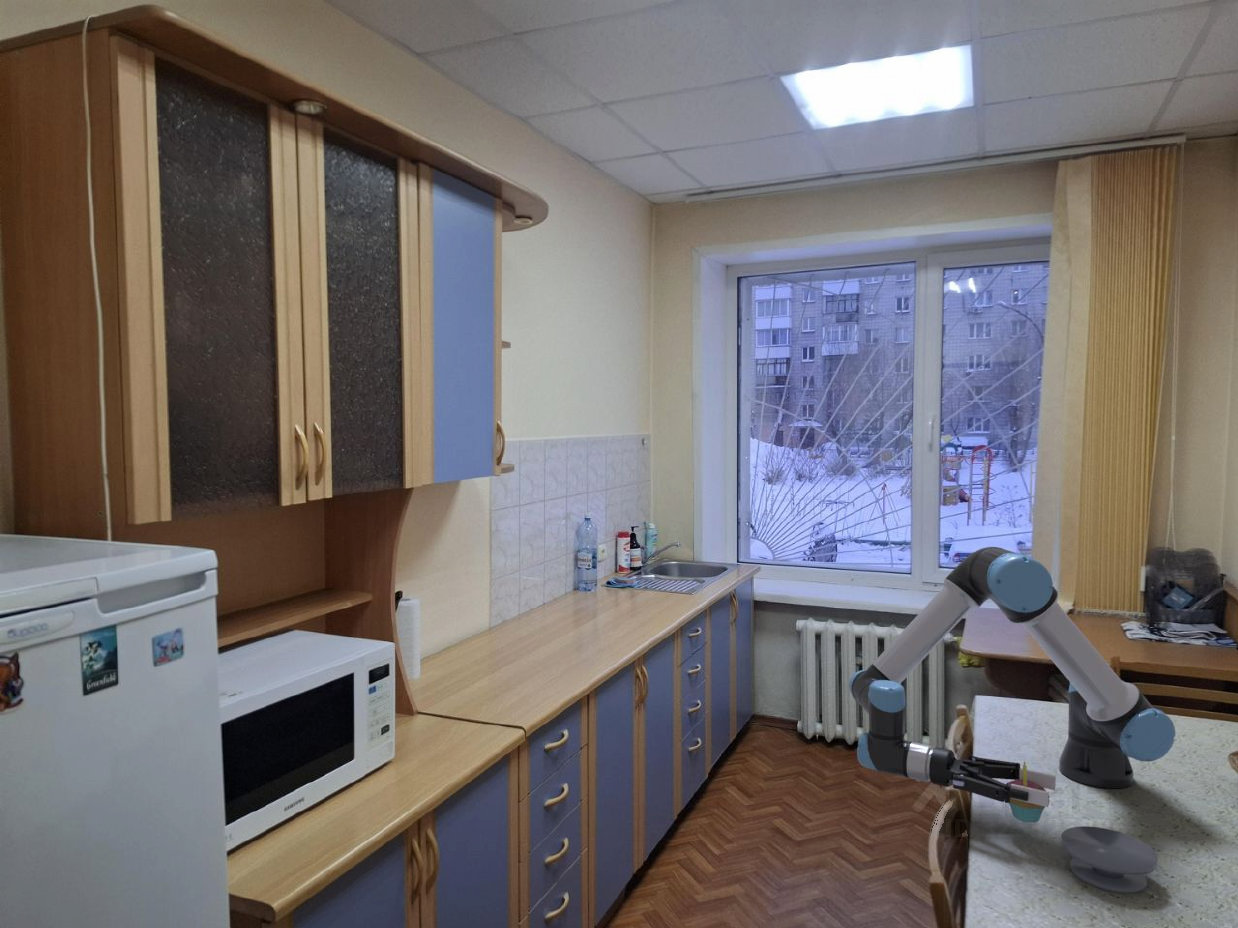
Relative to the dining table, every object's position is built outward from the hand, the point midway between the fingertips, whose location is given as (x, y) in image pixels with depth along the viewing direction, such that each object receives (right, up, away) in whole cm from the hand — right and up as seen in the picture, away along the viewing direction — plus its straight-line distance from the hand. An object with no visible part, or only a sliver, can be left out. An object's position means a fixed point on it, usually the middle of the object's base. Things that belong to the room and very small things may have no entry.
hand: (1051, 790), depth 160 cm
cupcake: (-4, -7, +3) cm, 8 cm away
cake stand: (+4, -11, -12) cm, 16 cm away
